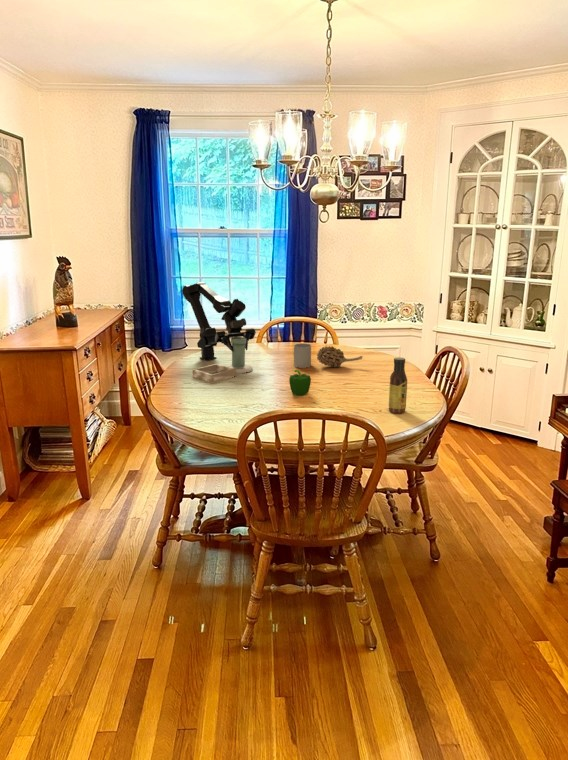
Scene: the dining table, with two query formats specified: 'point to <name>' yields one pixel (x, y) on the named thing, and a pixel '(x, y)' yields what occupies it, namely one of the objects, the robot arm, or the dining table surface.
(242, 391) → the dining table surface
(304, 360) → the cup
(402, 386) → the sauce bottle
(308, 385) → the bell pepper
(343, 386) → the dining table surface
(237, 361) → the flower pot
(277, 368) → the dining table surface
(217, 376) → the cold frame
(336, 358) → the pine cone
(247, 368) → the saucer
